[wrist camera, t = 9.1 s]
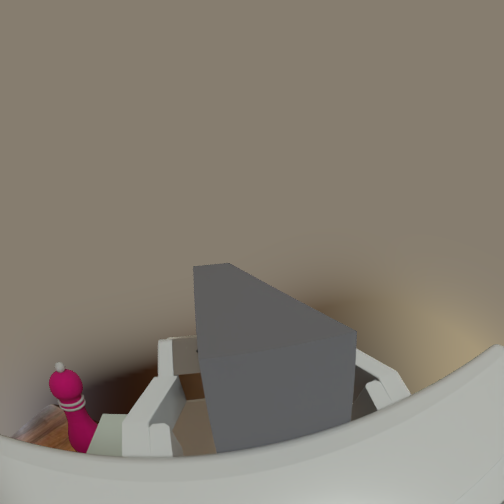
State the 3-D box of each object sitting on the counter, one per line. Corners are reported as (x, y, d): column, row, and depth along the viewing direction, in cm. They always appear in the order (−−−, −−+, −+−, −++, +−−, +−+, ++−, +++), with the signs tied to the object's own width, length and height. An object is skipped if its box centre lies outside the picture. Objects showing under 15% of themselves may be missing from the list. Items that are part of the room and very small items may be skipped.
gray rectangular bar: (345, 453, 6) (356, 331, 6) (224, 484, 5) (198, 359, 5) (232, 303, 28) (229, 263, 27) (197, 306, 27) (193, 266, 27)
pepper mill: (80, 445, 36) (45, 355, 34) (113, 443, 38) (81, 353, 37) (77, 468, 29) (33, 372, 28) (114, 467, 32) (74, 370, 31)
